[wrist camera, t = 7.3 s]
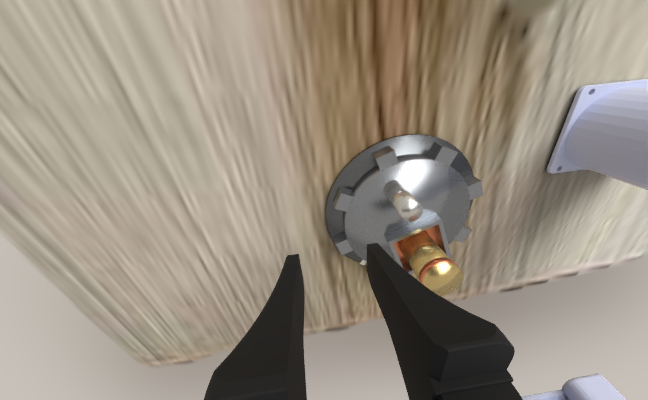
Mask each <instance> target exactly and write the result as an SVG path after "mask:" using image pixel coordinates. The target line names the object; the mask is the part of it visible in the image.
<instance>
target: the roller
mask: <svg viewBox="0 0 648 400" xmlns="http://www.w3.org/2000/svg"><path fill="white" fill-rule="evenodd" d="M400 250H401V252H402V254H403V256H404V257H405V259H406V260H407V262H408V263H409V265H410V266H411V268H412V269H413V271H414V272H415V274H416V276H417V277H418V279H419V281H420V283H422V284H423V285H424V286H426V287H427V288H429V289H430V290H431V291H433V292H434V293H436V294H437V295H439V296H443V295H446V294H449V293H451V292H452V291H454V290H455V289H456V288H457V287H458V286H459V285H460V284H461V282H462V279H463V273H462V272H461V270H460V269H459V267H458V266H457V265H456V264H455V263H454V262H453V261H452V260H451V259H450V258H449V257H448V256H447V255H446V254H445V252H444V251H443V250H442V249H441V248H440V247H439V246H438V245H437V243H436V242H435V241H434V240H433V239H432V238H431V237H430V236H429V235H428V234H427V233H425V232H419V233H417V234H414V235H412V236H410V237H407V238H405V239H404V240H403V241H402V243H401V246H400Z"/></svg>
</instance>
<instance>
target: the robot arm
mask: <svg viewBox="0 0 648 400" xmlns="http://www.w3.org/2000/svg"><path fill="white" fill-rule="evenodd" d="M589 91H590V92H589ZM585 169H589V170H592V171H594V172H597V173H600V174H603V175H606V176H609V177H612V178H615V179H617V180H620V181H623V182H626V183H629V184H632V185H635V186H638V187H641V188H643V189H646V190H648V79H642V80H633V81H624V82H615V83H606V84H596V85H587V86H582V87H581V88H580V89H579V90H578V91H577V93H576V96H575V98H574V101H573V103H572V106H571V108H570V111H569V113H568V116H567V119H566V121H565V124H564V126H563V129H562V131H561V134H560V136H559V139H558V141H557V144H556V147H555V149H554V152H553V154H552V157H551V159H550V162H549V164H548V167H547V172H548V173H551V174H554V173H562V172H569V171H577V170H585ZM367 273H368V277H369V280H370V284H371V287H372V290H373V292H374V294H375V297H376V299H377V302H378V304H379V307H380V309H381V311H382V314H383V316H384V318H385V321H386V323H387V326H388V328H389V331H390V335H391V338H392V341H393V344H394V347H395V351H396V354H397V357H398V361H399V364H400V367H401V371H402V374H403V378H404V382H405V385H406V389H407V392H408V396H409V400H626V399H625V398H624V397H623V396H622V395H621V394H620V393H619V392H618V391H617V390H616V389H615V388H614V387H613V386H612V385H611V384H610V383H609V382H608V381H607V380H606V379H605V378H604V377H603V376H602V375H600V374H594V375H588V376H582V377H577V378H573V379H570V380H568V381H567V382H566V383H565V384H564V385H563V387H562V390H557V391H551V392H546V393H540V394H535V395H529V396H524V397H521V396H520V395H519V393H518V392H517V390H516V389H515V387H514V386H513V385H512V383H511V382H513V378H512V377H511V375H510V374H509V372H508V371H507V368H508V366H509V364H510V362H511V360H512V358H513V356H514V347H513V346H512V345H511V343H510V342H509V341H508V339H507V338H506V337H505V335H504V334H503V333H502V332H501V331H500V330H499V329H498V327H497V326H496V325H495V324H493V323H491V322H488V321H486V320H484V319H482V318H480V317H478V316H475V315H473V314H471V313H469V312H467V311H465V310H463V309H461V308H460V307H458V306H456V305H454V304H452V303H451V302H449V301H447V300H446V299H444V298H442V297H441V296H439V295H437V294H436V293H434V292H433V291H431V290H430V289H429V288H427V287H426V286H424V285H423V284H422V283H420V282H419V281H418V280H416V279H415V278H414V277H413V276H412V275H410V274H409V273H408V272H407V271H406V270H405V269H403V268H402V267H401V266H400V265H399V264H398V263H397V262H396V261H395V260H394V259H393V258H392V257H391V256H390V255H389V254H388V253H387V252H386V251H385V250H384V249H383V248H382V247H381V246H380V245H379V244H378V243H373V244H367ZM303 330H304V283H303V276H302V270H301V265H300V259H299V254H295V255H288V256H287V257H286V260H285V263H284V266H283V269H282V272H281V274H280V277H279V279H278V281H277V284H276V286H275V288H274V290H273V292H272V294H271V296H270V298H269V300H268V302H267V303H266V305H265V307H264V309H263V310H262V312H261V313H260V315H259V317H258V318H257V319H256V321H255V322H254V324H253V325H252V327H251V328H250V330H249V331H248V332H247V334H246V335H245V336H244V337H243V339H242V340H241V341H240V342H239V344H238V345H237V346H236V347H235V349H234V350H233V351H232V352H231V354H230V355H229V356H228V357H227V358H226V359H225V360H224V361H223V362H222V363H221V365H219V367H218V368H217V369H216V370H215V371H214V373H213V375H212V378H211V380H210V383H209V385H208V388H207V391H206V394H205V398H204V400H307V397H306V383H305V365H304V348H303Z"/></svg>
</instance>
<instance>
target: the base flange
mask: <svg viewBox="0 0 648 400" xmlns="http://www.w3.org/2000/svg"><path fill="white" fill-rule="evenodd" d="M434 142H436V143H438V144H441V145H443V146H446V147H449V148H451V149H453V150H454V151H456V152H458V153H457V155H456V157H455V158H454V160H453V162H452V163H451V165H450V167H452V168H454V169H455V170H456V171H457V172H458V173H460V175H461V176H462V177H463V178H465V177H467V176H469V175H472V176H473V173H472V169H471V167H470V165H469V163H468V161H467V159H466V158H465V156H464V155H463V154H462V153H461V152H460V151H459V150H458V149H457V148H456V147H455V146H453V145H452V144H450V143H448V142H447V141H444V140H442V139H440V138H437V137H433V136H429V135H422V134H406V135H400V136H395V137H391V138H388V139H385V140H382V141H380V142H378V143H376V144H373V145H372V146H370V147H368V148H367V149H365V150H363V151H362V152H361V153H359V154H358V155H357V156H356V157H354V158H353V159H352V160H351V161H350V162H349V163H348V164H347V165H346V166H345V167H344V169H343V170H342V171H341V172H340V174H339V175H338V177H337V178H336V180H335V182H334V183H333V185H332V188H331V190H330V192H329V196H328V199H327V204H326V222H327V228H328V231H329V234H330V236H331V238H332V240H333V242H334V243H335V240H334V235H336V234H338V233H340V232H343V231H345V230H344V226H343V211H342V210H338V209H335V208H334V205H333V199H334V196H335V194H336V191H337V189H338V187H339V186H340V187H343V188H347V189H350V190H351V189H352V188H353V186H354V185H355V184H356V182H357V181H358V180H359V179H360V178H361V177H362V176H363V175H364V174H365V173H366V172H367V171H369V170H370V169H371V168H373V167H374V166H376V165H375V162H374V160H373V157H372V154H371V153H373V152H375V151H377V150H380V149H382V148H384V147H386V146H388V145H389V146H390V147H391V148H392V149H394V150H395V153H396V156H401V155H406V154H423V155H427V153H428V151H429V150H430V148H431V146H432V144H433V143H434ZM472 201H473V199H472V200H470V207H471V204H472ZM469 210H470V208H469ZM335 245H336V244H335ZM345 255H347V256H348V257H349V258H351V259H353V260H355V261H357V262H360V263H359V264H361V265H365V263H366V261H365V260H363V259H362V258H360V257H359V256H358V255H357V254H356V253H355V252H354V251H351V252H349V253H346V254H345Z"/></svg>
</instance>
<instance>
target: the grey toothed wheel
mask: <svg viewBox="0 0 648 400" xmlns="http://www.w3.org/2000/svg"><path fill="white" fill-rule="evenodd" d="M457 153H458V152H456V151H454V150H453V149H451V148H449V147H446V146H443V145H441V144H438V143H436V142H434V143H433V144H432V146H431V148H430V150H429V151H428V153H427V155H423V154H406V155H401V156H396V153H395V150H394V149H392V148H391V147H390V146H389V145H388V146H386V147H384V148H382V149H380V150H377V151H375V152H373V153H371V154H372V157H373V160H374V162H375V165H376V166H374V167H373V168H371V169H370V170H369V171H367V172H366V173H365V174H364V175H363V176H362V177H361V178H360V179H359V180H358V181H357V182H356V184H355V185H354V186H353V188H352V189H351V190H350V189H347V188H343V187H340V186H339V187H338V189H337V191H336V194H335V196H334V199H333V205H334V208H335V209H338V210H342V211H343V226H344V230H345V231H343V232H340V233H338V234H336V235H334V240H335V244H336V246H337V248H338V250H339V251H340V253H341V255H344V254H346V253H349V252H351V251H354V252H355V253H356V254H357V255H358V256H359V257H360V258H362V259H363V260H365V261H366V263H365V265H366V267H367V244H373V243H378V244H379V245H380V246H381V247H382V248H383V249H384V250H385V251H386V252H387V253H388V254H389V255H390V256H391V257H392V258H393V259H394V260H395V261H396V262H397V263H398V264H399V265H400V266H401V267H402V268H403V269H405V270H406V271H407V272H408V273H409V274H412V273H414V271H413V269H412V268H411V266H410V265H409V263H408V262H407V260H406V259H405V257H404V256H403V254H402V252H401V250H400V246H401V243H402V241H403V240H404V239H405V238H407V237H410V236H412V235H414V234H417V233H419V232H425V233H427V234H428V235H429V236H430V237H431V238H432V239H433V240H434V241H435V242H436V243H437V245H438V246H439V247H440V248H441V249H442V250H443V251H444V252H445V254H446V255H447V256H448V257H449V258H451V253H450V249H449V244H450V243H451V242H452V241H453V240H456V241H460V242H463V241H464V240H465V238H466V237H467V236H468V234H469V233H470V232H471V231H472V230H471V229H470V228H469V227H468V226H467V225H466V224H465V221H466V219H467V216H468V213H469V208H470V200H472V199H474V198H477V197H479V196H481V195H483V191H482V184H481V180H479V179H477V178H476V177H474V176H472V175H469V176H467V177H465V178H463V177H462V176H461V175H460V173H458V172H457V171H456V170H455V169H454V168H452V167H450V165H451V163H452V162H453V160H454V158H455V157H456V155H457Z"/></svg>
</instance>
